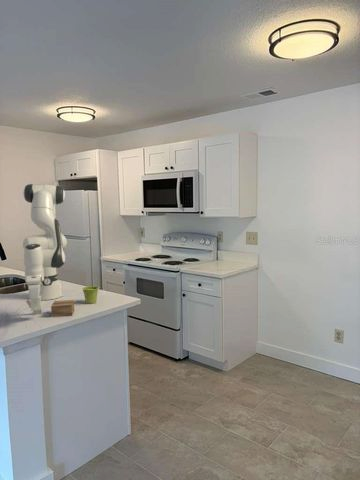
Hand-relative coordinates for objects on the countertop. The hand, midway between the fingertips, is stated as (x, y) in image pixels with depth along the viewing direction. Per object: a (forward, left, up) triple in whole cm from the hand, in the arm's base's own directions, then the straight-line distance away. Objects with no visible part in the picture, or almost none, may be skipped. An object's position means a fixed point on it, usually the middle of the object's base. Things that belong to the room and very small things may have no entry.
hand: (36, 304), depth 180 cm
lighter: (-9, -2, -8) cm, 12 cm away
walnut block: (-4, +13, -8) cm, 16 cm away
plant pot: (-21, +28, -8) cm, 36 cm away
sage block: (0, 0, -2) cm, 2 cm away
